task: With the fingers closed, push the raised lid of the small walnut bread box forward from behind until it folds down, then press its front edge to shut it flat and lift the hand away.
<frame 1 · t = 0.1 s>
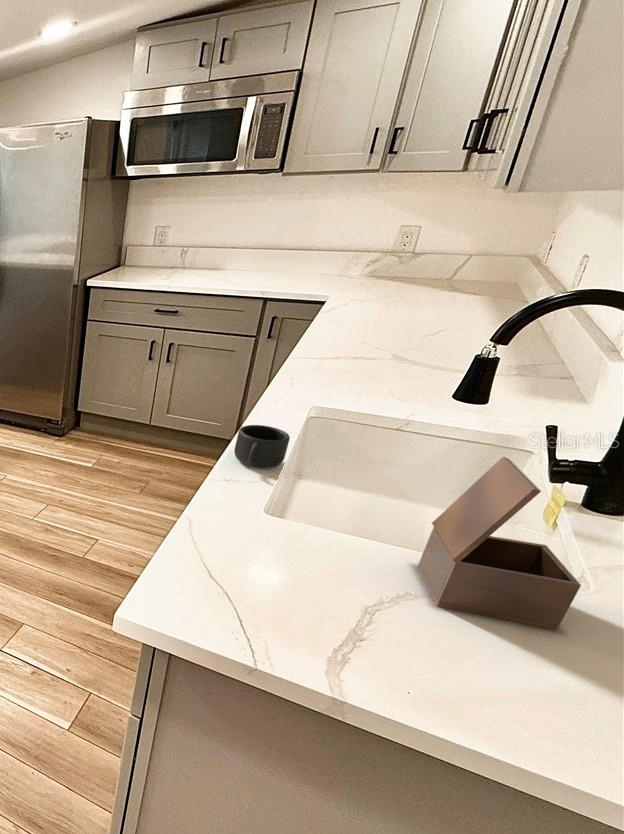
mug: (254, 465, 133), on the worktop
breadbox: (481, 596, 91), on the worktop
lid: (481, 508, 87), point 14 cm above the worktop, hinge at 70.0°
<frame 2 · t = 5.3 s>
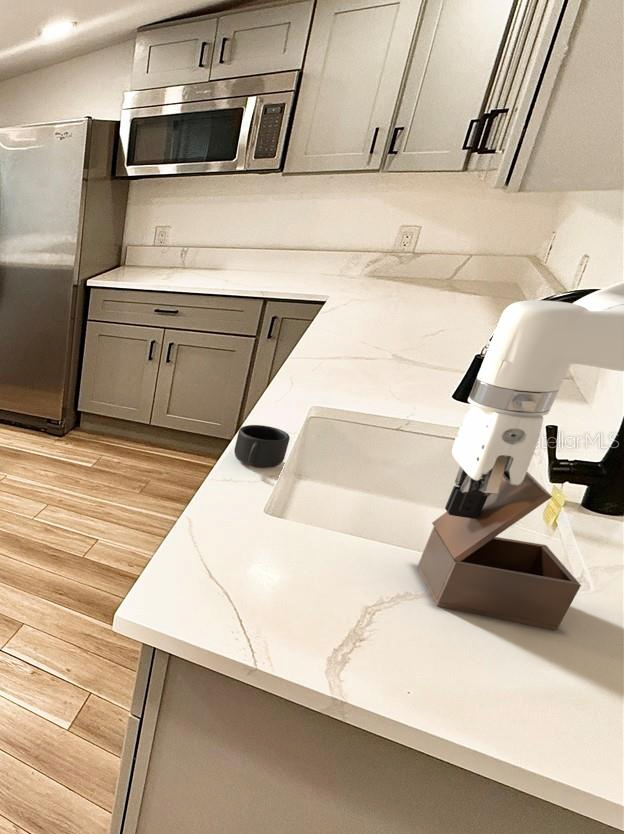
hand: (460, 514, 89), 13 cm above the worktop, tool pointing down, fingers closed
lid: (486, 511, 87), point 14 cm above the worktop, hinge at 64.3°
everything else where it was.
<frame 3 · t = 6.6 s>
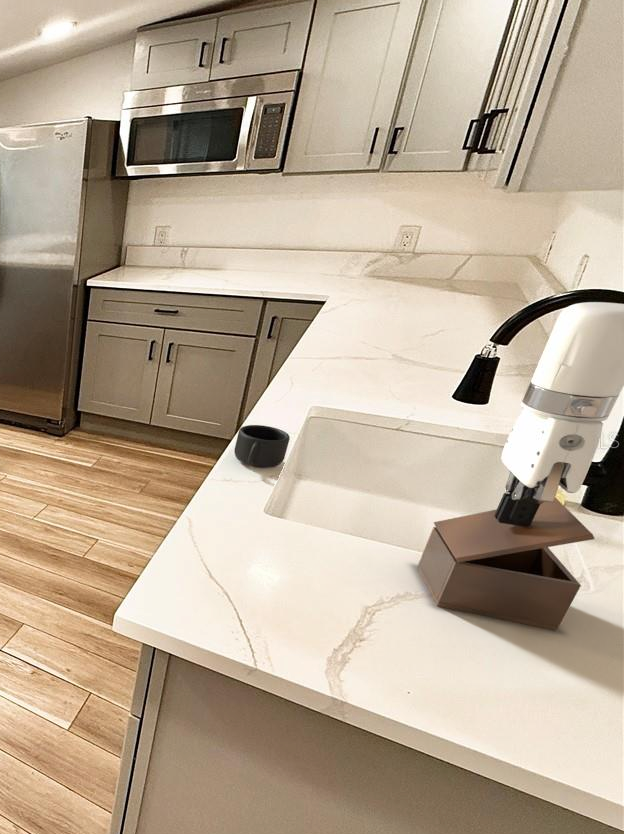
hand: (511, 521, 86), 13 cm above the worktop, tool pointing down, fingers closed
lid: (506, 529, 87), point 12 cm above the worktop, hinge at 31.7°, touching gripper
everything else where it was.
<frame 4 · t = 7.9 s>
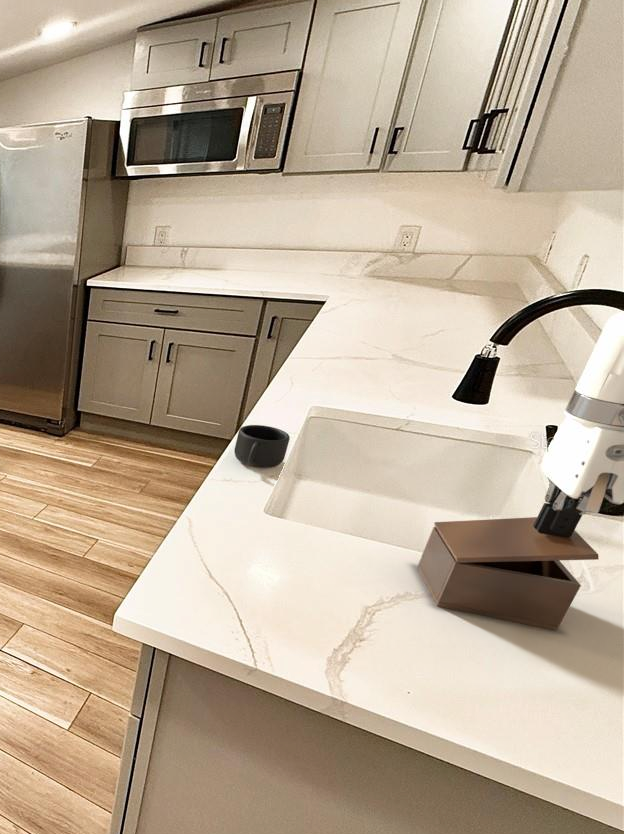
hand: (551, 532, 85), 12 cm above the worktop, tool pointing down, fingers closed
lid: (509, 539, 87), point 10 cm above the worktop, hinge at 18.3°, touching gripper
everything else where it was.
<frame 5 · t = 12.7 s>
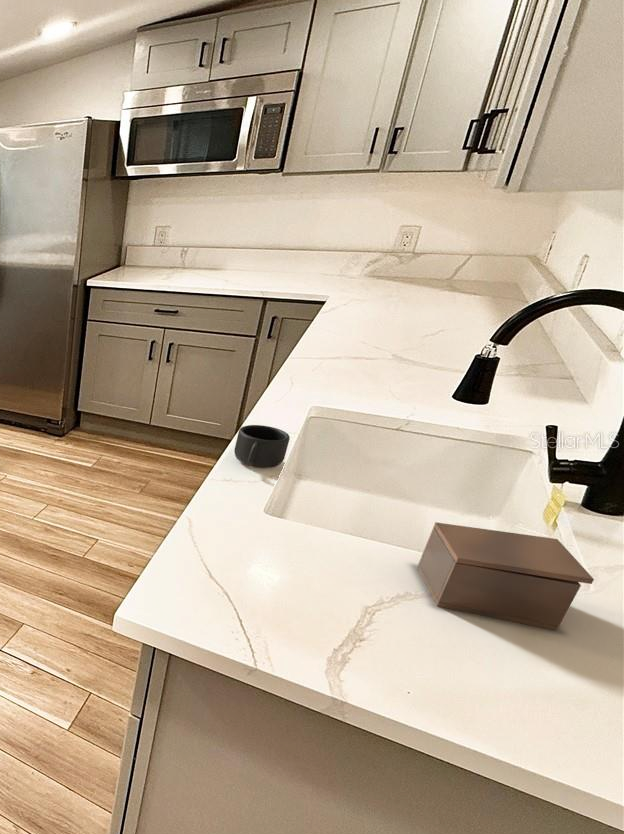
lid: (507, 550, 88), point 8 cm above the worktop, hinge at 1.8°
everything else where it was.
at the end: lid at +2° (first picture: +70°) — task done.
